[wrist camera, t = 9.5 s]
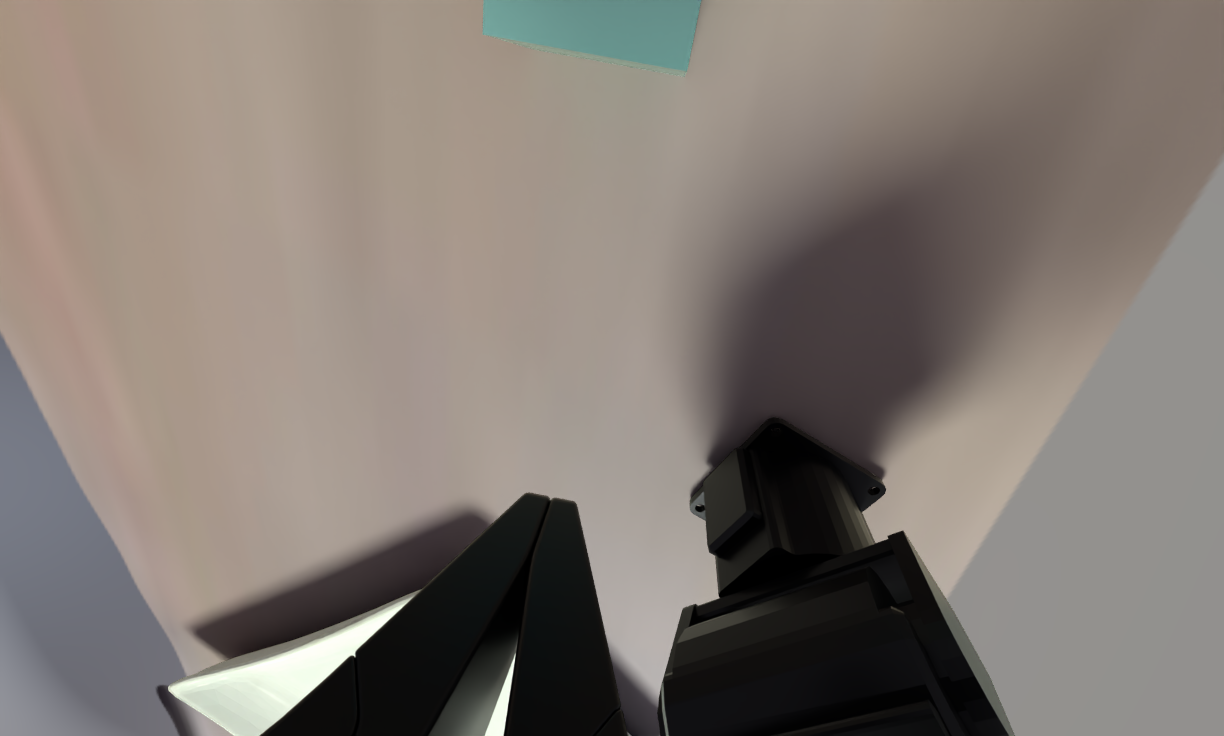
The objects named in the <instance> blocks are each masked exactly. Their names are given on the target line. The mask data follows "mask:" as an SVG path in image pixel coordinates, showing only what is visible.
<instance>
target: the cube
mask: <svg viewBox="0 0 1224 736" xmlns="http://www.w3.org/2000/svg"><path fill="white" fill-rule="evenodd" d="M700 4H701V0H484V7H483V35H486V36H490V37H493V38H497V39H500V40H503V41H507V42H510V43H513V44H517V45H520V46H523V47H527V48H530V49H533V50H539V51H544V52H550V53H555V54H561V55H566V56H572V57H577V58H583V59H588V60H594V61H599V62H605V63H610V64H616V65H621V66H627V67H632V68H638V69H643V70H649V71H654V72H660V73H665V74H671V75H676V76H682V77H685V75H686V72H687V69H688V64H689V59H690V54H691V49H692V44H693V39H694V34H695V29H696V24H697V19H698V14H699V9H700Z"/></svg>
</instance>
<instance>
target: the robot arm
mask: <svg viewBox="0 0 1224 736" xmlns="http://www.w3.org/2000/svg"><path fill="white" fill-rule="evenodd" d="M777 427H778V428H780V430H778V431H776V432H773V431H771V429H773V428H777ZM871 487H875V488H873V489H869V488H871ZM885 491H886V488H885V486H884V484H883V482H882V480H881V479H880V478H878V477H877V476H875V475H873V474H872V473H870V472H868V471H867V470H865V469H863V468H862V467H860V466H859V465H857V464H855V463H854V462H852V461H850V460H849V459H847V458H845V457H844V456H842V455H840V454H839V453H837V452H835V451H834V450H832V449H831V448H829V447H827V446H826V445H824V444H822V443H821V442H819V441H817V440H816V439H814V438H812V437H811V436H809V435H807V434H806V433H804V432H802V431H801V430H799V429H798V428H796V427H794V426H793V425H791V424H789V423H788V422H786V421H784V420H783V419H780V418H771V419H768V420H767V421H765V423H764V424H763V425H762V426H761V427H760V428H759V429H758V430H757V431H756V432H755V433H754V434H753V435H752V436H751V437H750V438H749V439H748V440H747V441H746V442H745V443H744V444H743V445H742V446H741V447H739V448H736V449H734V450H733V451H732V452H731V454H730V455H729V456H728V457H727V458H726V459H725V460H724V461H723V462H722V463H721V464H720V465H719V466H718V467H717V468H716V469H715V470H714V471H713V472H712V473H711V474H710V475H709V476H708V477H707V478H706V479H705V480H704V482H703V486H702V487H701V488H700V489H699V490H698V492H697V493H696V494H695V495H694V496H693V497H692V498H691V499H690V511H691V512H692V513H693V514H694V515H696V516H698V517H700V518H702V519H703V520H705V521H706V530H707V545H708V550H709V553H711V554H713V555H715V559H716V570H717V582H718V594H719V597H720V598H719V599H716V600H713V601H710V602H707V603H705V604H702V605H699V606H698V605H696V604H694V605H691V606H688V607H685V608H683V610H682V613H681V617H680V620H679V624H678V628H677V631H676V635H675V638H674V642H673V646H672V649H671V653H670V657H669V660H668V664H667V667H666V671H665V675H664V678H663V682H662V685H661V690H660V696H659V707H658V712H657V714H658V720H659V727H660V735H661V736H1015V735H1014V732H1013V730H1012V728H1011V726H1010V723H1009V721H1008V718H1007V716H1006V714H1005V711H1004V709H1003V707H1002V704H1001V702H1000V700H999V697H998V695H997V693H996V690H995V688H994V685H993V683H992V681H991V678H990V676H989V674H988V673H987V671H986V669H985V667H984V665H983V664H982V662H981V660H980V658H979V656H978V654H977V653H976V651H975V649H974V647H973V645H972V643H971V642H970V640H969V638H968V636H967V635H966V633H965V631H964V629H963V627H962V625H961V624H960V622H959V620H958V618H957V617H956V615H955V613H954V611H953V610H952V608H951V606H950V604H949V603H948V601H947V600H946V598H945V596H944V595H943V593H942V592H941V590H940V588H939V587H938V585H937V584H936V582H935V580H934V579H933V577H932V576H931V574H930V572H929V571H928V569H927V568H926V566H925V564H924V563H923V561H922V560H921V558H920V556H919V555H918V553H917V552H916V550H915V548H914V547H913V545H912V544H911V542H910V540H909V539H908V537H907V536H906V534H905V532H904V531H900V532H897V533H894V534H892V535H889V536H888V539H887V540H884V541H881V542H878V543H875V541H874V539H873V536H872V534H871V532H870V530H869V527H868V525H867V523H866V521H865V518H864V516H863V514H862V512H863V511H864V510H866V509H867V508H868V507H869V506H871V505H872V504H873V503H874V502H876V501H877V500H878V499H879V498H881V497H882V496H883V495H884V494H885ZM699 504H702V505H703V506H697V505H699ZM515 653H516V655H515ZM514 656H515V662H514V669H513V675H512V682H511V689H510V695H509V702H508V709H507V715H506V722H505V729H504V735H503V736H628V733H627V729H626V724H625V720H624V715H623V712H622V711H621V710H620V707H621V703H620V698H619V694H618V689H617V685H616V680H615V676H614V671H613V667H612V662H611V657H610V653H609V648H608V644H607V639H606V635H605V630H604V626H603V621H602V616H601V612H600V607H599V603H598V598H597V594H596V589H595V585H594V580H593V576H592V571H591V566H590V562H589V557H588V553H587V548H586V544H585V539H584V535H583V530H582V526H581V521H580V516H579V512H578V507H577V504H576V503H575V502H574V501H570V500H565V499H560V498H553V499H552V500H551V501H550V498H549V497H548V496H544V495H539V494H534V493H525V494H524V495H523V496H521V497H520V498H519V499H518V500H517V501H516V502H515V503H514V504H513V505H512V506H511V507H510V508H509V509H507V510H506V511H505V512H504V513H503V514H502V515H501V516H500V517H499V518H498V519H497V520H496V521H495V522H494V523H492V524H491V525H490V526H489V527H488V528H487V529H486V530H485V531H484V532H483V533H482V534H481V535H480V536H478V537H477V538H476V539H475V540H474V541H473V542H472V543H471V544H470V545H469V546H468V547H467V548H466V549H464V550H463V551H462V552H461V553H460V554H459V555H458V556H457V557H456V558H455V559H454V560H453V561H452V562H450V563H449V564H448V565H447V566H446V567H445V568H444V569H443V570H442V571H441V572H440V573H439V574H438V575H437V576H435V577H434V578H433V579H432V580H431V581H430V582H429V583H428V584H427V585H426V586H425V587H424V588H423V589H421V590H420V591H419V592H418V593H417V594H416V595H415V596H414V597H413V598H412V599H411V600H410V601H409V602H407V603H406V604H405V605H404V606H403V607H402V608H401V609H400V610H399V611H398V612H397V613H396V614H395V615H394V616H392V617H391V618H390V619H389V620H388V621H387V622H386V623H385V624H384V625H383V626H382V627H381V628H380V629H378V630H377V631H376V632H375V633H374V634H373V635H372V636H371V637H370V638H369V639H368V640H367V641H366V642H364V643H363V644H362V645H361V646H360V647H359V648H358V649H357V650H356V652H355V656H353V655H351V656H349V657H348V658H347V659H346V660H345V661H344V662H343V663H341V664H340V665H339V666H338V667H337V668H336V669H335V670H334V671H333V672H332V673H331V674H330V675H329V676H328V677H327V678H325V679H324V680H323V681H322V682H321V683H320V684H319V685H318V686H317V687H315V688H314V689H313V690H312V691H311V692H310V693H309V694H308V695H306V696H305V697H304V698H303V699H302V700H301V701H300V702H299V703H297V704H296V705H295V706H294V707H293V708H292V709H291V710H290V711H288V712H287V713H286V714H285V715H284V716H283V717H282V718H280V719H279V720H278V721H277V722H275V723H274V724H273V725H272V726H271V727H269V728H268V729H267V730H266V731H264V732H263V733H262V734H261V735H259V736H485V734H486V731H487V728H488V726H489V723H490V720H491V718H492V715H493V712H494V709H495V707H496V704H497V701H498V699H499V696H500V693H501V691H502V688H503V685H504V683H505V680H506V677H507V675H508V672H509V669H510V667H511V664H512V661H513V659H514Z"/></svg>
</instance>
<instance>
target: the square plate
mask: <svg viewBox="0 0 1224 736" xmlns="http://www.w3.org/2000/svg"><path fill="white" fill-rule="evenodd" d="M419 591H420V590H418V591H416V592H413V593H411V594H408V595H405V596H403V597H401V598H399V599H396V600H394V601H392V602H389V603H387V604H385V605H382V606H380V607H378V608H376V609H373V610H371V611H368V612H366V613H363V614H361V615H358V616H356V617H353V618H351V619H348V620H346V621H344V622H341V623H338V624H336V625H333V626H330V627H328V628H325V629H323V630H320V631H317V632H315V633H312V634H309V635H306V636H303V637H300V638H298V639H295V640H292V641H288V642H285V643H282V644H279V645H275V646H272V647H268V648H265V649H261V650H258V651H255V652H251V653H248V654H244V655H241V656H238V657H235V658H232V659H229V660H226V661H224V662H221V663H219V664H216V665H214V666H211V667H209V668H206V669H204V670H202V671H200V672H199V673H197V674H194V675H191V676H187V677H184V678H182V679H179V680H177V681H175V682H174V683H172V684H171V685H170V686H169V687H168V689H169V691H170V692H171V693H172V694H173V695H174V696H175V697H177V698H178V699H180V700H181V701H183V702H185V703H186V704H188V705H189V706H191V707H193V708H194V709H196V710H197V711H199V712H200V713H202V714H203V715H205V716H206V717H208V718H209V719H211V720H212V721H214V722H215V723H217V724H218V725H220V726H221V727H223V728H224V729H226V730H227V731H228V732H230V733H231V734H232V735H234V736H259V735H261V734H262V733H263V732H264V731H266V730H267V729H268V728H269V727H271V726H272V725H273V724H274V723H275V722H277V721H278V720H279V719H280V718H282V717H283V716H284V715H285V714H286V713H287V712H288V711H290V710H291V709H292V708H293V707H294V706H295V705H296V704H297V703H299V702H300V701H301V700H302V699H303V698H304V697H305V696H306V695H308V694H309V693H310V692H311V691H312V690H313V689H314V688H315V687H317V686H318V685H319V684H320V683H321V682H322V681H323V680H324V679H325V678H327V677H328V676H329V675H330V674H331V673H332V672H333V671H334V670H335V669H336V668H337V667H338V666H339V665H340V664H341V663H343V662H344V661H345V660H346V659H347V658H348V657H349V656H351V655H353V656H355V652H356V650H357V649H358V648H359V647H360V646H361V645H362V644H363V643H364V642H366V641H367V640H368V639H369V638H370V637H371V636H372V635H373V634H374V633H375V632H376V631H377V630H378V629H380V628H381V627H382V626H383V625H384V624H385V623H386V622H387V621H388V620H389V619H390V618H391V617H392V616H394V615H395V614H396V613H397V612H398V611H399V610H400V609H401V608H402V607H403V606H404V605H405V604H406V603H407V602H409V601H410V600H411V599H412V598H413V597H414V596H415V595H416V594H417V593H418V592H419ZM515 655H516V653H515ZM514 662H515V656H514V659H513V661H512V664H511V667H510V669H509V672H508V675H507V677H506V680H505V683H504V685H503V688H502V691H501V693H500V696H499V699H498V701H497V704H496V707H495V709H494V712H493V715H492V718H491V720H490V723H489V726H488V728H487V731H486V734H485V736H503V735H504V729H505V722H506V715H507V709H508V702H509V695H510V689H511V682H512V675H513V669H514ZM627 733H628V732H627ZM628 736H631V735H630V734H629V733H628Z"/></svg>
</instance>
